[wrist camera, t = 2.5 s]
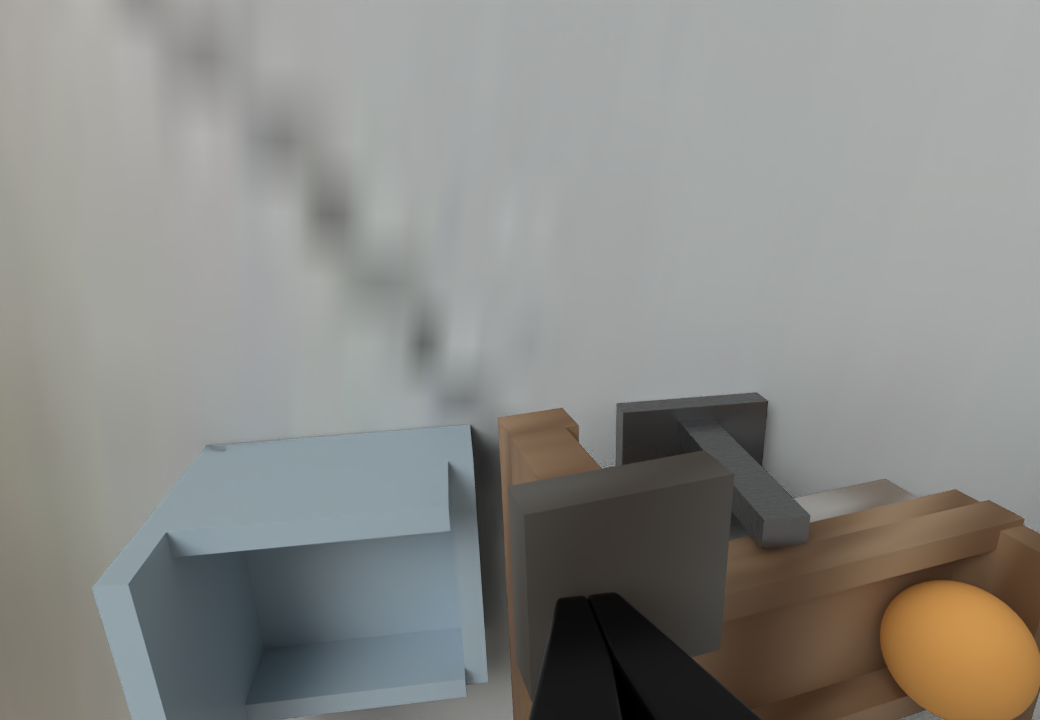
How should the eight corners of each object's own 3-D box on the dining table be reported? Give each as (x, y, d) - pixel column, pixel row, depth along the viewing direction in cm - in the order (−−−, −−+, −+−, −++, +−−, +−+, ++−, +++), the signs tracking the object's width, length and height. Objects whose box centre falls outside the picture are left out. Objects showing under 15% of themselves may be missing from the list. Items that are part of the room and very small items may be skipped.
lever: (929, 293, 19) (1263, 370, 12) (874, 604, 23) (1109, 796, 16) (434, 353, 15) (523, 514, 8) (464, 717, 19) (544, 1034, 12)
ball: (958, 605, 19) (1087, 695, 16) (870, 677, 19) (983, 783, 16) (931, 531, 18) (1066, 614, 14) (835, 608, 17) (952, 709, 14)
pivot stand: (756, 392, 22) (885, 492, 16) (737, 608, 25) (838, 767, 19) (616, 403, 22) (690, 511, 15) (613, 622, 24) (673, 790, 18)
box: (469, 424, 21) (481, 549, 15) (483, 629, 24) (498, 813, 17) (206, 445, 20) (91, 587, 14) (251, 655, 23) (174, 858, 16)
